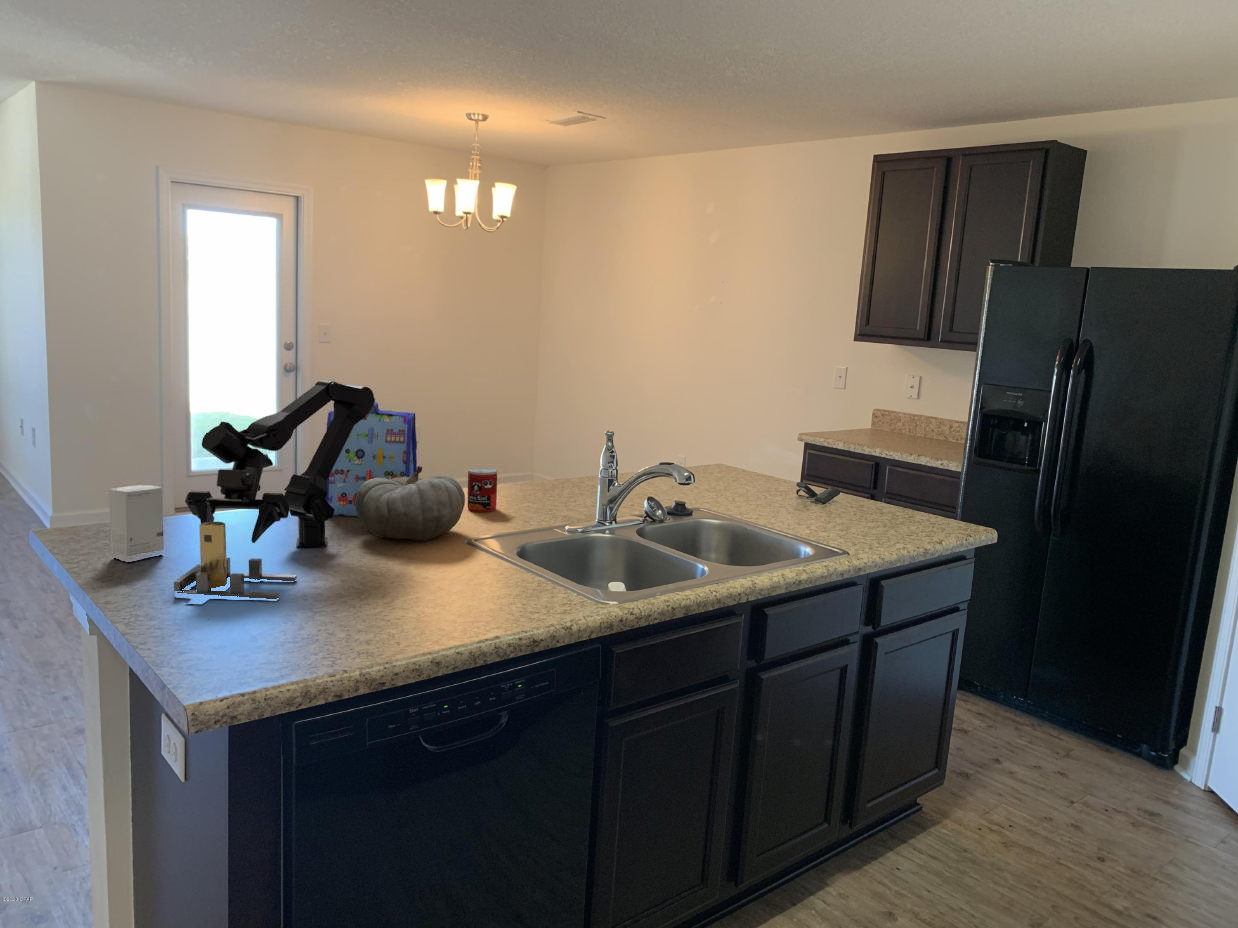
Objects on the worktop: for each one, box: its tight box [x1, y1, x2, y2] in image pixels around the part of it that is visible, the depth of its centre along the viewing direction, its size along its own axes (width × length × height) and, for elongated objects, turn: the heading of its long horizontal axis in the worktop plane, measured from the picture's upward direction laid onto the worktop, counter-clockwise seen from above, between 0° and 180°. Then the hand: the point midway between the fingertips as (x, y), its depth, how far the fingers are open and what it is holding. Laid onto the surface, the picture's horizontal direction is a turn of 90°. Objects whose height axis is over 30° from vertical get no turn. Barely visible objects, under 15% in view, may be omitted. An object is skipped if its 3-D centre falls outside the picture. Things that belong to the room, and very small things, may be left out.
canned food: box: [467, 466, 498, 513], centre depth 242 cm, size 8×8×11 cm
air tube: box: [198, 521, 227, 588], centre depth 167 cm, size 5×5×12 cm
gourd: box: [355, 465, 466, 542], centre depth 211 cm, size 25×25×17 cm
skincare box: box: [108, 484, 165, 556], centre depth 184 cm, size 8×6×15 cm
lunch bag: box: [325, 401, 418, 517], centre depth 231 cm, size 22×14×29 cm, turn 92°
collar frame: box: [173, 557, 298, 599], centre depth 167 cm, size 16×18×4 cm
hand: (228, 541), depth 174 cm, fingers open, 9 cm apart
